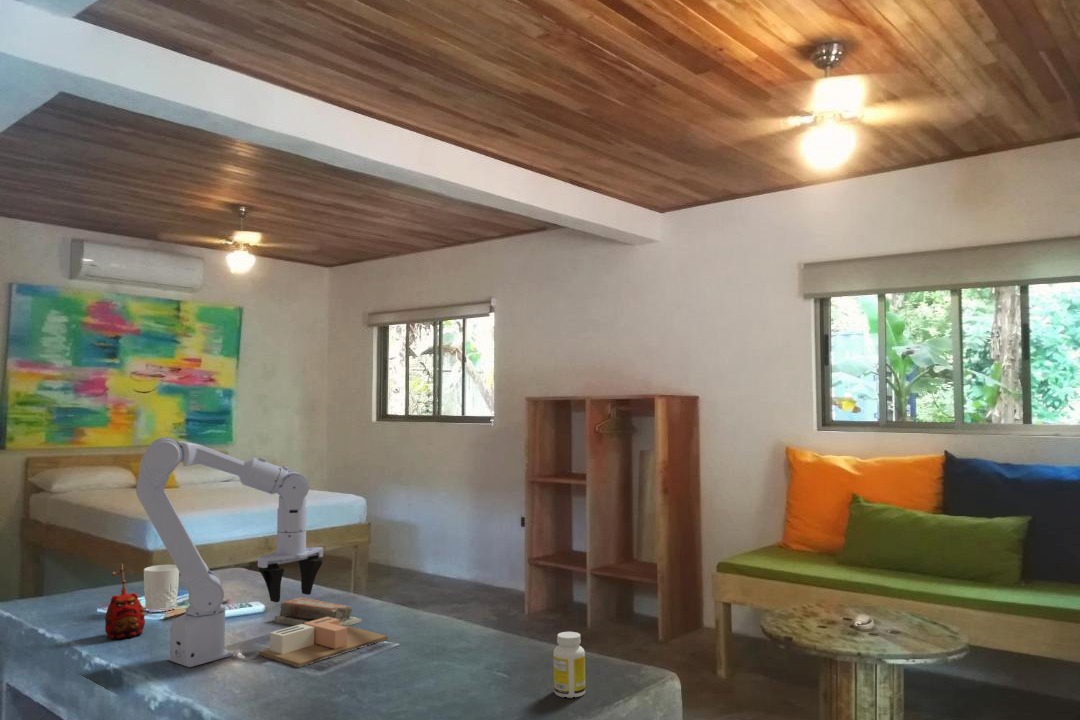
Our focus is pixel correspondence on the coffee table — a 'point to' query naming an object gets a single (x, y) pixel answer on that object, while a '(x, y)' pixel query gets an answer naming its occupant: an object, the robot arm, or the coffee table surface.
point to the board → (325, 648)
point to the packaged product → (313, 612)
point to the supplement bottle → (569, 666)
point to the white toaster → (291, 638)
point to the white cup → (161, 586)
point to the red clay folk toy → (124, 614)
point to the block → (329, 632)
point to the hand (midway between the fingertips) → (290, 597)
